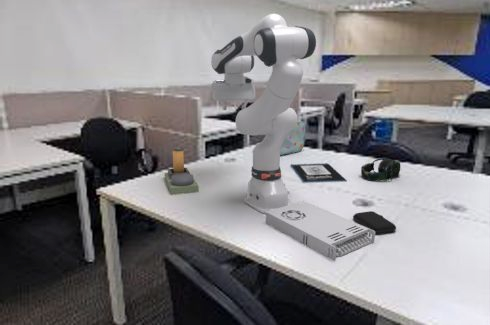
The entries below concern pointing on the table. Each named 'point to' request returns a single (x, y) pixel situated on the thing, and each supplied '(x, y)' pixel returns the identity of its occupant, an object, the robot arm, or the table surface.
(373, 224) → the carrying case or bag
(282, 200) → the robot arm
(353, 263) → the table surface
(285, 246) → the table surface
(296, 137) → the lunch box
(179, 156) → the orange pill bottle
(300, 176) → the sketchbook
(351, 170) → the table surface
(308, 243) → the power supply unit
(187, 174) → the green slab
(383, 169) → the headphones
